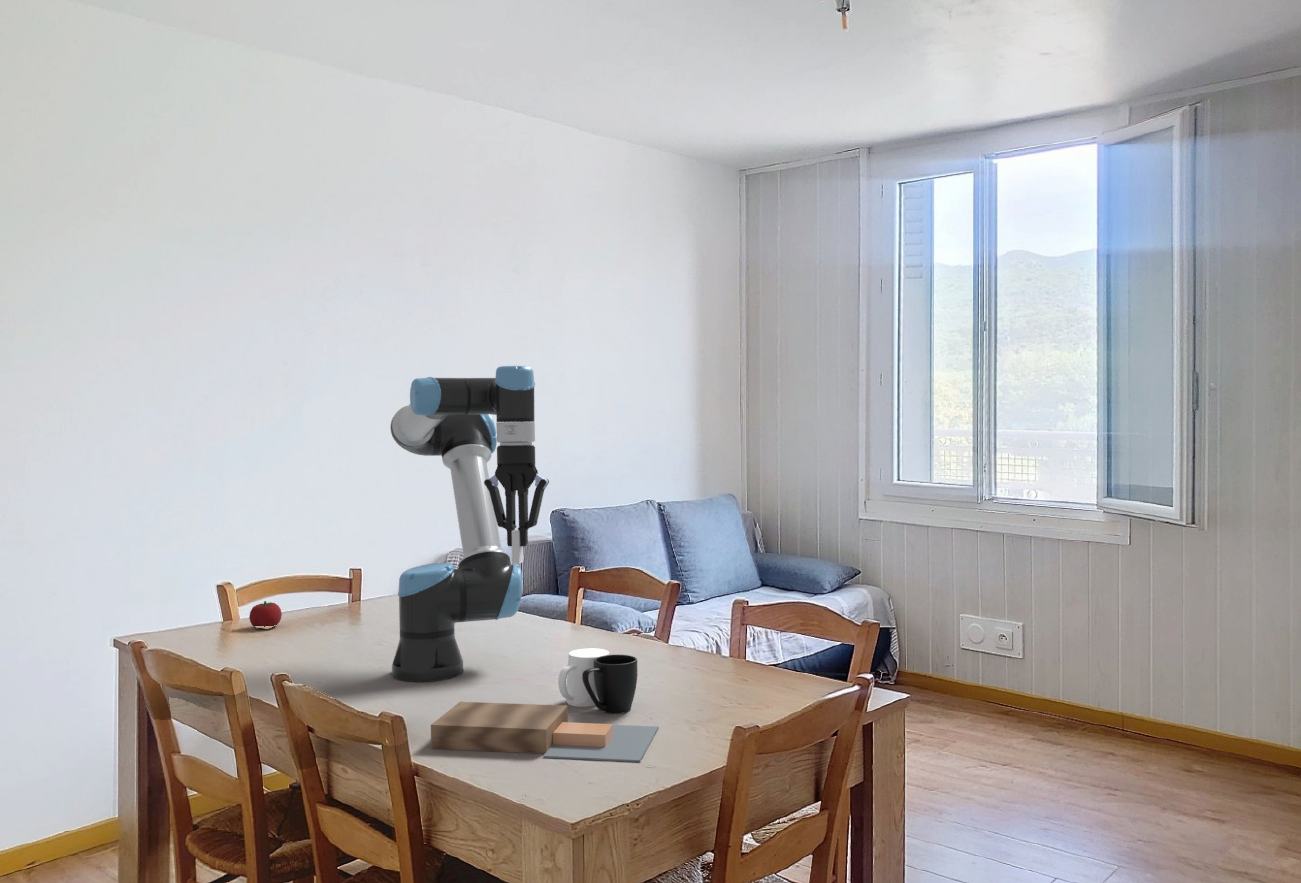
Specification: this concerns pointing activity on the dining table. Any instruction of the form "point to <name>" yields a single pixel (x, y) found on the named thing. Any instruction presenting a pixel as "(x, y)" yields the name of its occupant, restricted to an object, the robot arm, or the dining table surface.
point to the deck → (498, 727)
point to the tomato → (265, 614)
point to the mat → (611, 746)
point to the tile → (583, 734)
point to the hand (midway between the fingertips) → (517, 562)
